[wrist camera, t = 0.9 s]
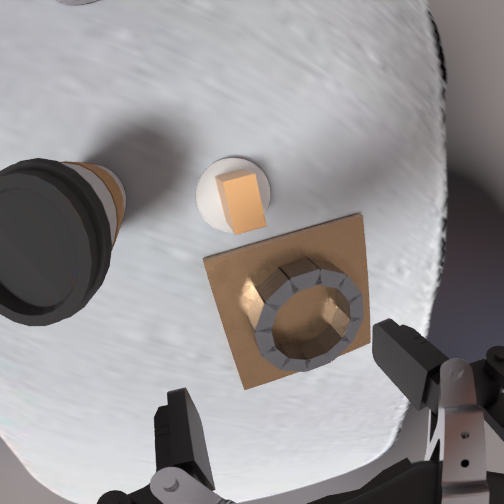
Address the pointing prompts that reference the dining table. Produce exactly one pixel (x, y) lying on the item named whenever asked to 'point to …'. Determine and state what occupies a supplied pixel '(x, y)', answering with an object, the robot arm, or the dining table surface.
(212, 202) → the cap
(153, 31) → the dining table surface
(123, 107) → the dining table surface
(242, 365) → the board with grey ring
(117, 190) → the coffee cup
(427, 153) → the dining table surface
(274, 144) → the dining table surface
